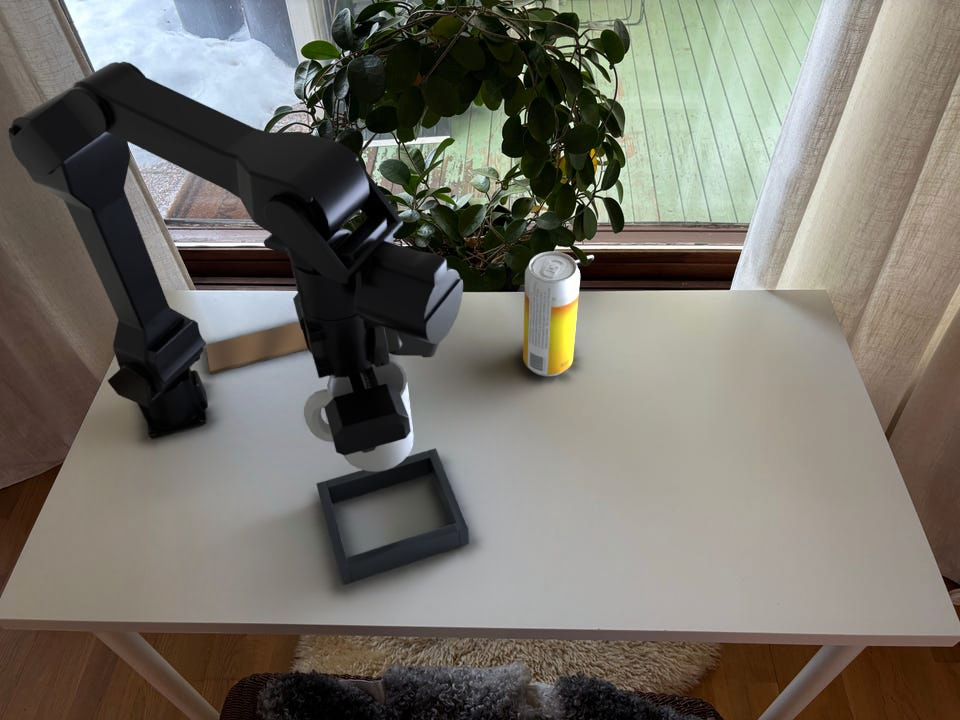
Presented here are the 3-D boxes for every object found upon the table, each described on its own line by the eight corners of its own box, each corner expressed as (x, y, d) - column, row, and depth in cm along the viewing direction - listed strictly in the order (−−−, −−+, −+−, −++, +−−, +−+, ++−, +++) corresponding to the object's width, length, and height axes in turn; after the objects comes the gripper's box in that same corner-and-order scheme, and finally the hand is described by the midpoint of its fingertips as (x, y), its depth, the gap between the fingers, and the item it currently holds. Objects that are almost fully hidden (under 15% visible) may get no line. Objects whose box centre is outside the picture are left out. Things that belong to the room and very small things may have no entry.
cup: (414, 472, 75) (406, 410, 69) (309, 477, 75) (291, 416, 68) (414, 414, 80) (407, 352, 74) (315, 419, 80) (300, 358, 74)
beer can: (579, 352, 98) (588, 257, 87) (562, 385, 94) (569, 289, 83) (534, 339, 100) (537, 244, 89) (515, 370, 96) (516, 275, 85)
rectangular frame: (343, 585, 76) (338, 569, 74) (321, 499, 83) (316, 483, 81) (469, 543, 79) (468, 527, 77) (437, 464, 86) (435, 447, 84)
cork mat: (210, 374, 97) (209, 371, 96) (206, 347, 100) (205, 344, 100) (330, 343, 100) (329, 340, 100) (322, 318, 103) (321, 315, 103)
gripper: (468, 349, 59) (472, 473, 70) (401, 212, 71) (413, 336, 82) (321, 387, 56) (349, 509, 68) (278, 239, 69) (308, 363, 80)
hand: (359, 421), depth 74 cm, fingers closed on cup, 7 cm apart
